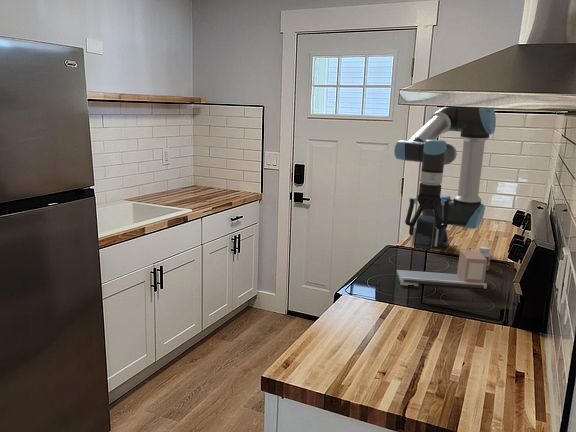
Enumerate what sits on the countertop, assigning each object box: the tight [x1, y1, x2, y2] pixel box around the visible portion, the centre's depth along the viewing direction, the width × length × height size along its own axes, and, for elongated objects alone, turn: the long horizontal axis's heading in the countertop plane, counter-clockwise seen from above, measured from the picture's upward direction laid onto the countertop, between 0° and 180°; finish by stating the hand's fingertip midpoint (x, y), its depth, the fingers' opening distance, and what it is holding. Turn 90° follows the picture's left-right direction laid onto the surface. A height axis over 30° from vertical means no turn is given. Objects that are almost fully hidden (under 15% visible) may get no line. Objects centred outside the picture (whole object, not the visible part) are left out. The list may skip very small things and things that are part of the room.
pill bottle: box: [478, 245, 492, 271], centre depth 193 cm, size 5×5×10 cm
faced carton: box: [456, 249, 487, 283], centre depth 178 cm, size 10×7×10 cm
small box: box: [413, 214, 436, 251], centre depth 178 cm, size 11×6×10 cm, turn 159°
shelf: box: [395, 269, 488, 289], centre depth 179 cm, size 13×30×3 cm, turn 85°
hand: (423, 244), depth 179 cm, fingers closed on small box, 7 cm apart
